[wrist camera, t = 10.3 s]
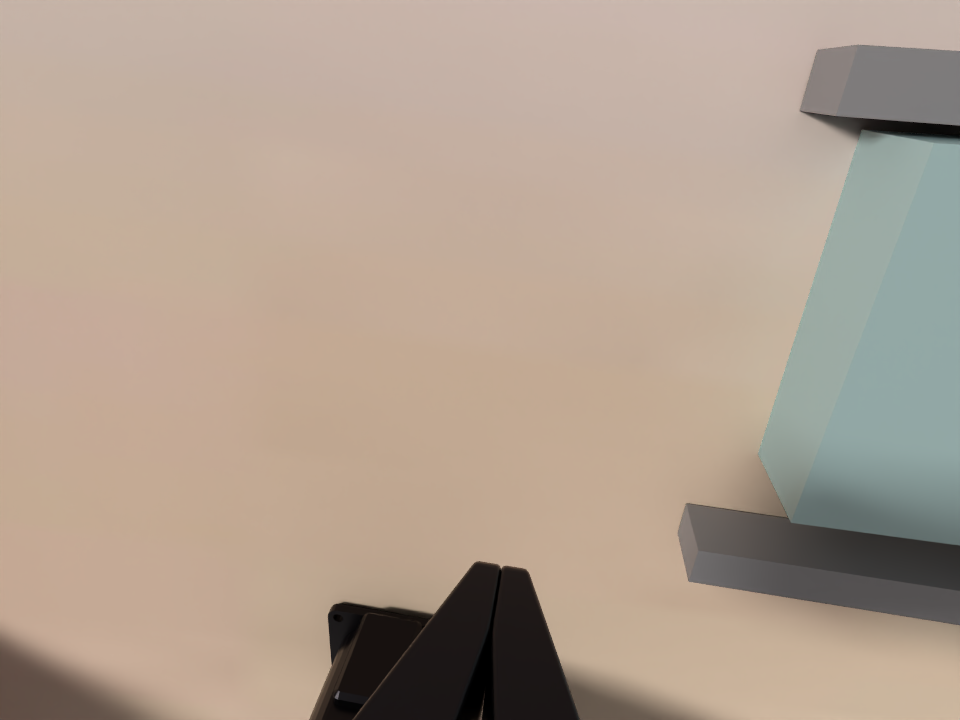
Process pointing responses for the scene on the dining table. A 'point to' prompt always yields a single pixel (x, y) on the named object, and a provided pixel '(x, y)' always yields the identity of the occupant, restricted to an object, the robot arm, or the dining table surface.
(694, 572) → the bracket
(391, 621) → the robot arm
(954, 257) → the teal carton
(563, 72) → the dining table surface
